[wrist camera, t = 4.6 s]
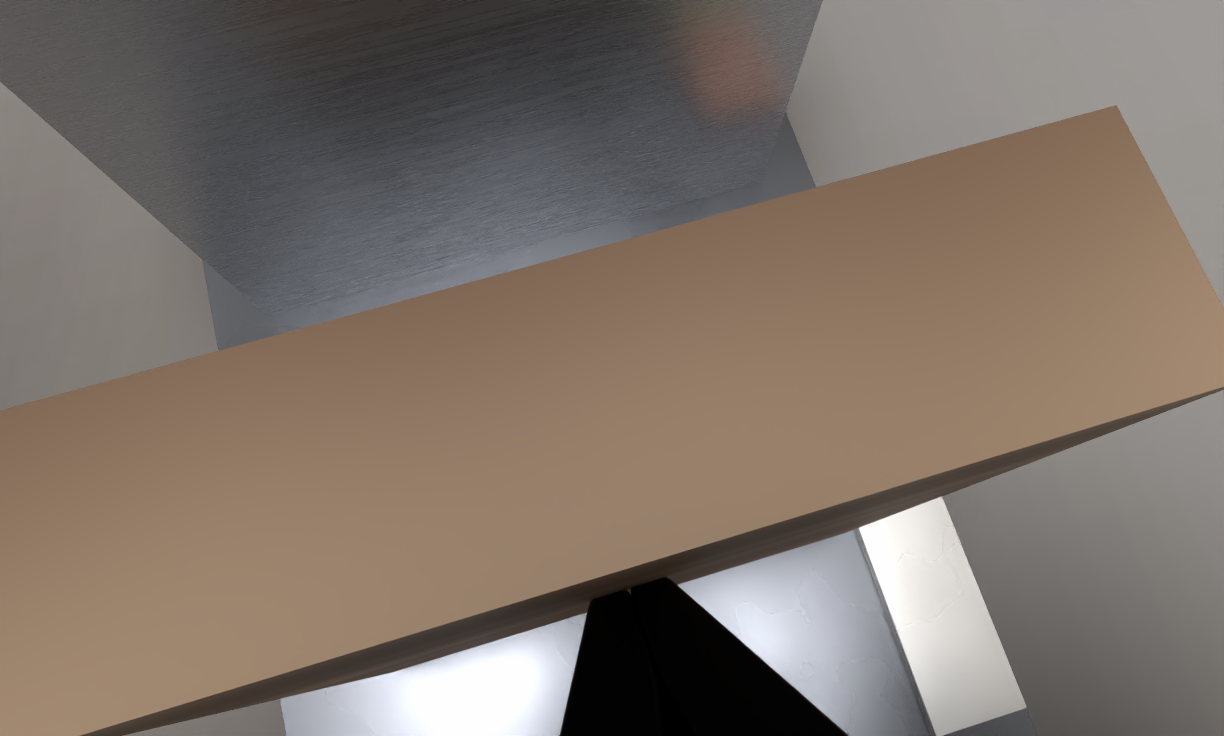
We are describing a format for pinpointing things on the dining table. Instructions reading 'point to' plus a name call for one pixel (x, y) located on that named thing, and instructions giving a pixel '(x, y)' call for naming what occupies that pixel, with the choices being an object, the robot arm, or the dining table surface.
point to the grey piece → (501, 269)
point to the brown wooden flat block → (584, 429)
